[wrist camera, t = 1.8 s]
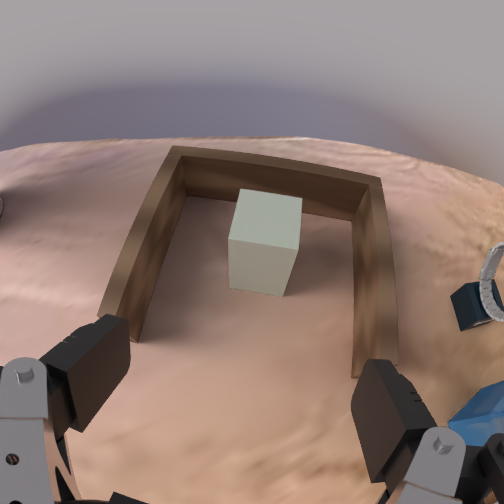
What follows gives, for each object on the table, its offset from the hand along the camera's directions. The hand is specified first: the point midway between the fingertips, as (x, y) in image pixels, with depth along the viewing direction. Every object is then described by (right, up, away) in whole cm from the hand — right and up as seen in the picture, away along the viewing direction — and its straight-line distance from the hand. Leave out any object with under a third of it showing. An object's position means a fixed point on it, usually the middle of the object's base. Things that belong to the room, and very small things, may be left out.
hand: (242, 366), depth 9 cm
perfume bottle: (+23, -14, +11) cm, 30 cm away
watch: (+26, -3, +19) cm, 32 cm away
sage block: (+1, +2, +20) cm, 20 cm away
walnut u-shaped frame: (+1, +2, +20) cm, 20 cm away
